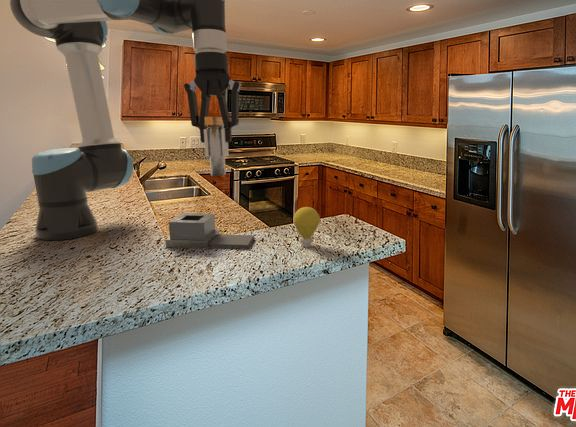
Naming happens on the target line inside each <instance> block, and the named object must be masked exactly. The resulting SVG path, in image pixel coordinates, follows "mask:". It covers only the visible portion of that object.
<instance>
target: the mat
mask: <svg viewBox="0 0 576 427" xmlns="http://www.w3.org/2000/svg"><path fill="white" fill-rule="evenodd" d="M254 240H255V235H253V234H252V235H251V234H250V235H249V234H225V233H224V234H222V233H220V234H218V235H217V236H216V237H215V239H214V240H213V241H212V242H211V243H210V244H209V245H210V248H211V249H212V248H213V249H237V250H238V249H240V250H241V249H242V250H243V249H244V250H249V248H250V246H252V243H253V242H254ZM210 248H209V249H210Z"/></svg>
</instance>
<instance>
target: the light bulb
mask: <svg viewBox="0 0 576 427" xmlns="http://www.w3.org/2000/svg"><path fill="white" fill-rule="evenodd" d="M292 220H293V221H292V222H293V225H294V226H295V229H296V231H297V232H298V234H299V235H300V237H299V242H300V243H301V247H304V248H309V247H311V246H312V243H313V241H314V239H313V235H314V233H315V232H316V231H317V228H318V226H319V225H320V222H321V217H320V214H319V213H318V212H317V210H316V209H314V208H313V207H310V206H305V207H304V206H303V207H300V208H299V209H297V211H295V213H294V214H293V218H292Z"/></svg>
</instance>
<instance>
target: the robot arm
mask: <svg viewBox="0 0 576 427" xmlns="http://www.w3.org/2000/svg"><path fill="white" fill-rule="evenodd" d="M225 3H226V0H9V6H10V10H11V12H12V13H11V14H12V15H13V17H14V19H15V20H16V21H17V22H18V24H19V25H21V27H23V28H24V29H25V30H27V31H28V32H30V33H32V34H34V35H36V36H39V37H42V38H43V37H44V38H47V39H52V40H54V41H55V45H56V49H57V51H59V53H61V54H62V55H63V56H64V59H65V63H66V68H67V73H68V78H69V82H70V87H71V92H72V98H73V101H74V105H75V110H76V116H77V119H78V120H77V121H78V124H79V129H80V134H81V139H82V141H81V142H80V144H79V145H78V147H64V148H63V147H61V148H55V149H54V148H53V149H50V150H44V151H41V152H40V151H39V152H37V153H36V154H34V155H33V156H32V158H31V166H32V167H31V168H32V170H31V173H32V174H33V180H34V186H35V190H36V196H37V202H38V207H39V209H38V216H37V218H36V225H35V236H36V239H39V240H43V241H65V240H71V239H77V238H81V237H85V236H88V235H91V234H93V233H96V232H97V231H98V229H99V227H98V222H97V219H96V216H95V215H94V213H93V212H92V209H91V208H90V206H89V204H88V197H87V193H91V192H96V191H103V190H108V189H109V190H110V189H115V188H119V187H122V186H125V185H127V184H128V183H129V181H130V179H131V178H132V176H133V174H134V160H133V158H132V155H130V153H129V152H128V151H127V150H126V149H123V148H122V144H121V141H119V140H118V139H116V138H115V136H114V129H113V126H112V121H111V115H110V111H109V110H110V108H109V106H108V100H107V96H106V95H107V94H106V90H105V85H104V80H103V75H102V69H101V65H100V58H99V55H100V54H101V52H102V51H103V46H104V45H105V44H106V42H107V39H108V38H107V36H108V34H109V33H108V32H109V31H108V25H107V21H126V20H127V21H128V20H129V21H135V22H139V23H143V24H146V25H149V26H151V27H152V28H153V29H154V30H155V31H156V32H157V33H159V34H162V35H165V34H166V35H167V34H170V35H172V34H173V35H174V34H177V33H180V32H184V31H189V30H191V31H192V46H193V51H194V52H195V54H194V55H193V56H194V57H193V60H194V72H195V76H194V78H193V80H192V81H191V82H188V83H187V82H186V83H184V84H183V88H184V90H185V92H186V94H187V102H188V107H189V108H188V109H189V114H190V115H189V116H190V123H191V126H192V127H195V128H198V129H199V134H200V135H199V136H200V142H201V143H204V152H205V153H204V154H205V155H204V156H205V157H207V158H210V154H209V139H208V125H205V119H204V117H209V110H210V104H211V103H210V101H211V98H212V97H213V96H216V99H217V102H218V106H219V111H220V114H221V116H220V117H222V120H223V124H224V125H223V129H221V137H222V153H223V157H225V158H226V157H228V156H229V155H230V154H229V152H230V151H229V143H231V142H232V140H233V139H232V129H233V128H234V127H236V126H238V125H239V122H240V120H239V119H240V116H239V114H240V113H239V112H240V107H239V106H240V104H239V103H240V98H239V97H240V95H239V94H240V91H241V88H242V83H241V82H239V81H234V80H232V78H231V76H230V75H229V65H228V64H229V62H228V61H229V60H228V55H227V54H226V52H228V48H227V47H228V45H227V43H228V42H227V30H226V11H225V10H226V4H225ZM228 87H229V89H230V90H231V92H230V93H231V94H230V96H231V97H230V100H231V102H230V111H231V112H230V114H229V109H228V104H227V100H226V99H227V97H226V93H225V92H226V91H227V89H228ZM197 88H198V89H199V91H200V93H201V94H200V99H201V100H200V101H201V102H200V111H199V106H198V100H197V94H196V91H197ZM199 113H200V114H199Z"/></svg>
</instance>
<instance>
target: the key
mask: <svg viewBox="0 0 576 427" xmlns="http://www.w3.org/2000/svg"><path fill="white" fill-rule="evenodd" d="M204 119H205V125H207V127H208V128H207V129H208V139H209V154H210V156H209V166H210V176H213V177H214V176H215V177H216V176H225V175H226V172H227V171H226V159H225V158H226V157H223V153H222V137H221V129H224V127H223V126H224V124H223V120H222V116H220V117H219V116H208V117H204Z"/></svg>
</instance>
